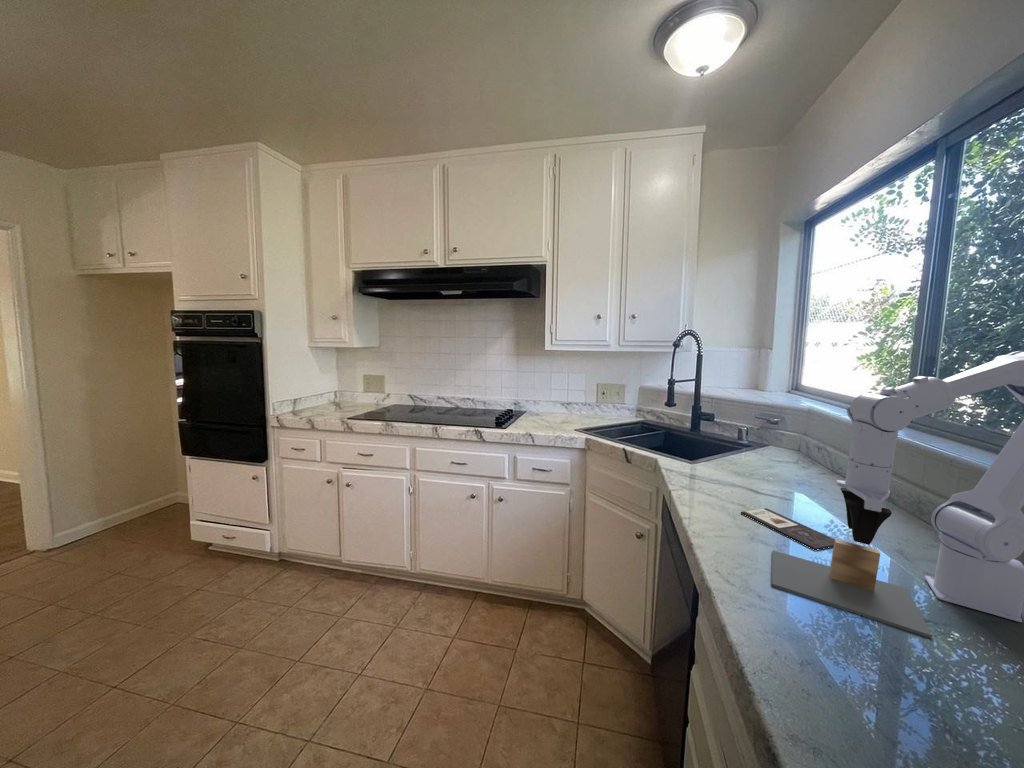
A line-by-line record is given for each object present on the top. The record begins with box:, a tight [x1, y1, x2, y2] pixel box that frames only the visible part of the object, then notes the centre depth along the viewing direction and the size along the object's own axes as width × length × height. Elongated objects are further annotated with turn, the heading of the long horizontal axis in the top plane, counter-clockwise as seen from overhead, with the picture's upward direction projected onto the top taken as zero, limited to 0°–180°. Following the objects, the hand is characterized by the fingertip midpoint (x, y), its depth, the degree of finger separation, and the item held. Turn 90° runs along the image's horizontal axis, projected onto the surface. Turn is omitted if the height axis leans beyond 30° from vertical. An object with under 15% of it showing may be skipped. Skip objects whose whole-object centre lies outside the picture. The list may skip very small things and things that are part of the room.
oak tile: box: [830, 538, 881, 591], centre depth 70 cm, size 6×2×7 cm, turn 56°
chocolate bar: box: [740, 508, 836, 551], centre depth 92 cm, size 9×1×18 cm
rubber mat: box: [771, 550, 933, 639], centre depth 69 cm, size 20×14×1 cm
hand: (858, 535), depth 70 cm, fingers open, 5 cm apart
